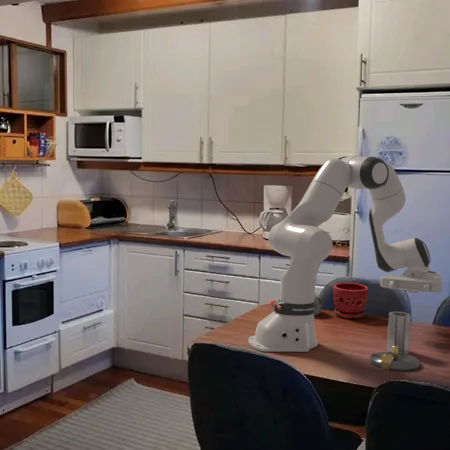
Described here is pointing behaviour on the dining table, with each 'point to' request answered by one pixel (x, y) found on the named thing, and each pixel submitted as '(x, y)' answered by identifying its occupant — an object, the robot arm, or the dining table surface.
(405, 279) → the robot arm
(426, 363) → the dining table surface
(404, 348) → the octagonal pipe segment
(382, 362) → the grey pot lid
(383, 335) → the dining table surface
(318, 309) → the spool
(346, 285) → the plant pot
